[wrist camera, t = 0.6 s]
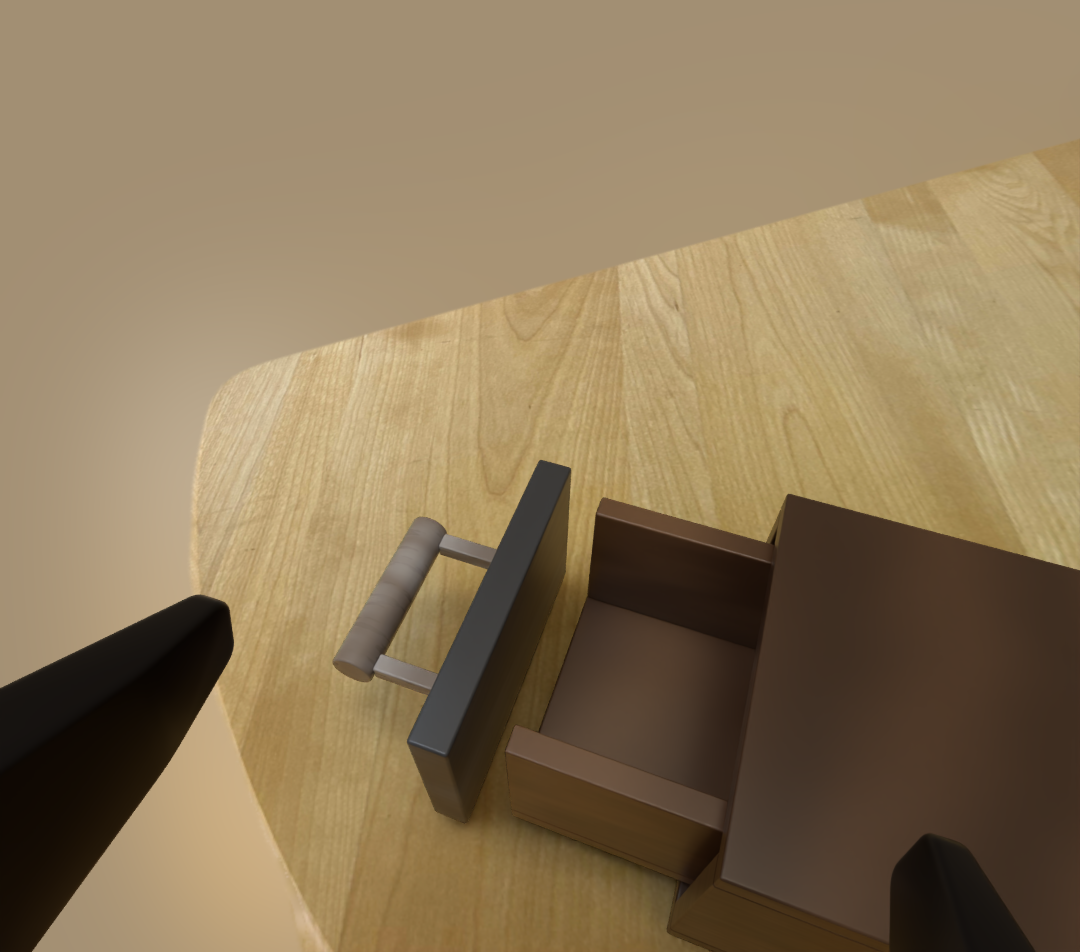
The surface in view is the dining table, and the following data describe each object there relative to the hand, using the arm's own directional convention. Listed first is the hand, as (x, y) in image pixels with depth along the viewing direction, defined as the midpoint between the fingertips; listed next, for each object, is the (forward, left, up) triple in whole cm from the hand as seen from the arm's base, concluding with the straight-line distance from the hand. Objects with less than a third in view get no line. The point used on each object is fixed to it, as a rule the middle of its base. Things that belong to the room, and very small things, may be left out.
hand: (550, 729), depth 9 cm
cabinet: (+7, -10, -18) cm, 22 cm away
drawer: (+7, 0, -17) cm, 18 cm away
